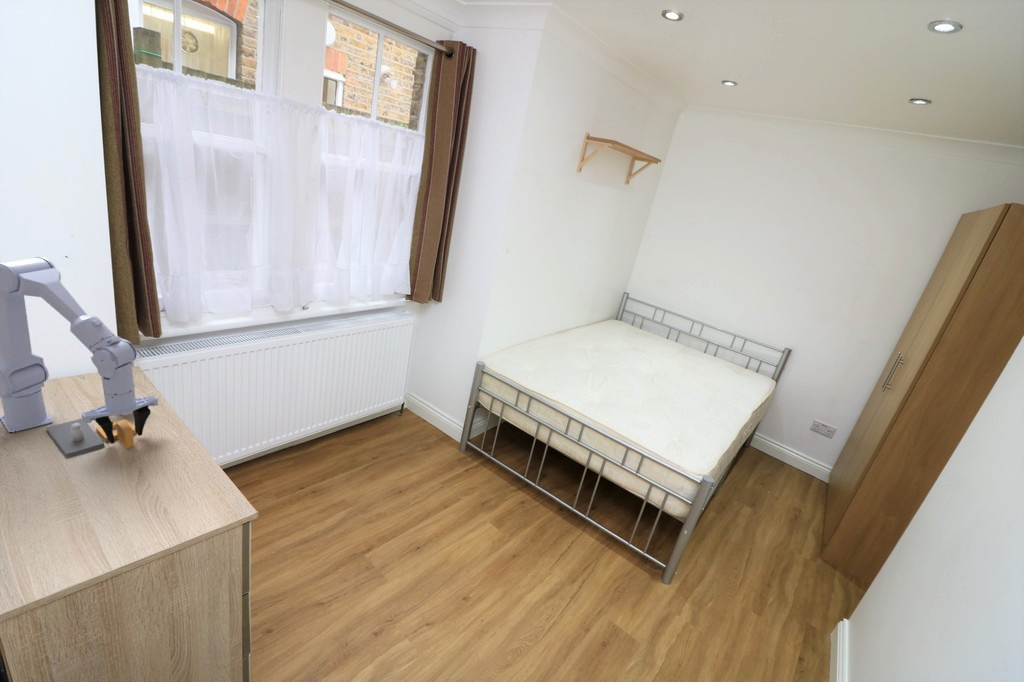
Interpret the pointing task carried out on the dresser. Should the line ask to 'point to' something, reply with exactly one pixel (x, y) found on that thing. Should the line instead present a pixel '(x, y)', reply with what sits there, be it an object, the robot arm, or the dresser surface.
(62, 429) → the keeper board
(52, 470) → the dresser surface
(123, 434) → the orange loop handle block
